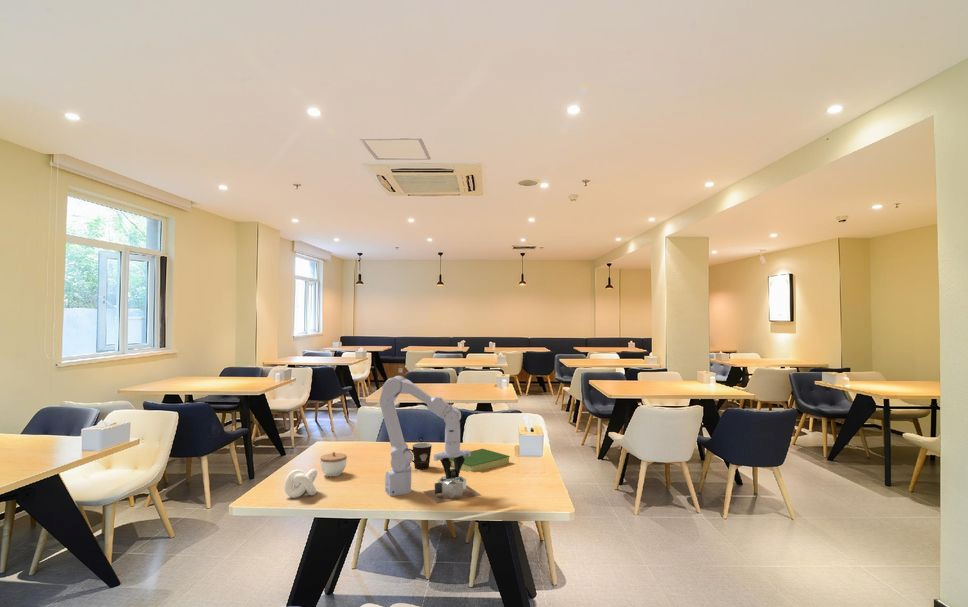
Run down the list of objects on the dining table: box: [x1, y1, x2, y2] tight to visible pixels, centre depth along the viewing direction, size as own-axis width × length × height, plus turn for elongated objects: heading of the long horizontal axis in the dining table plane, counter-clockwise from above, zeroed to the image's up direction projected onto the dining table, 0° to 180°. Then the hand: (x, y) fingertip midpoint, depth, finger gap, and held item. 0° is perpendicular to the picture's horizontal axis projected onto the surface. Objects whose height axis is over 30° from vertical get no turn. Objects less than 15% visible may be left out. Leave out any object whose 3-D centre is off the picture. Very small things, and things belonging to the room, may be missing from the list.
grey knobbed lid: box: [443, 468, 462, 484], centre depth 178 cm, size 7×7×5 cm
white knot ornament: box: [283, 468, 318, 499], centre depth 177 cm, size 11×12×9 cm
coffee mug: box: [409, 442, 433, 471], centre depth 214 cm, size 12×9×10 cm
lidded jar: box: [320, 451, 348, 478], centre depth 203 cm, size 11×11×9 cm
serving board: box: [422, 484, 482, 504], centre depth 178 cm, size 18×14×1 cm
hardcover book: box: [449, 448, 511, 473], centre depth 220 cm, size 25×19×4 cm
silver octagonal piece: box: [434, 475, 467, 498], centre depth 177 cm, size 12×10×5 cm
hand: (452, 477), depth 178 cm, fingers closed on grey knobbed lid, 3 cm apart
